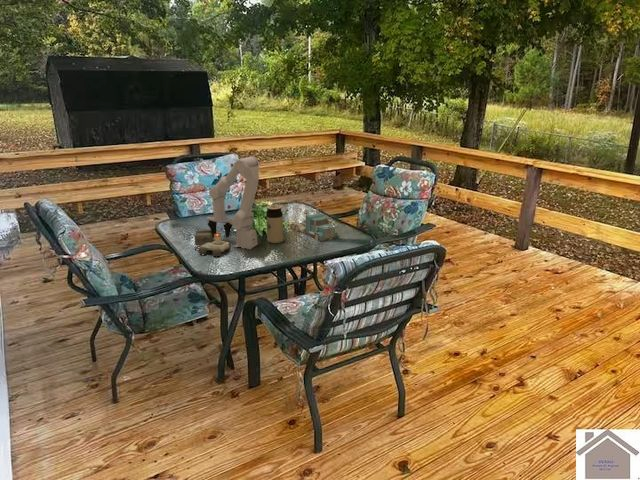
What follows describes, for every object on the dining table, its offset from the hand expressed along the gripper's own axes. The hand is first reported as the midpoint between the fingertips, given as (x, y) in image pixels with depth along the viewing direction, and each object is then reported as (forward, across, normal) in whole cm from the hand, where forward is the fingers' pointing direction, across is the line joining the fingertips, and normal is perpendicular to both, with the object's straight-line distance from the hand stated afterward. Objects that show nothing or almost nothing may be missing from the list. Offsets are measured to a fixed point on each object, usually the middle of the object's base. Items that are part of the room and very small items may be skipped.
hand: (221, 236), depth 239 cm
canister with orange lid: (-1, -9, +16) cm, 19 cm away
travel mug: (+3, -26, -9) cm, 28 cm away
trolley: (+2, -4, +16) cm, 17 cm away
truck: (+3, -39, -29) cm, 49 cm away
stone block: (+3, +6, +5) cm, 9 cm away
